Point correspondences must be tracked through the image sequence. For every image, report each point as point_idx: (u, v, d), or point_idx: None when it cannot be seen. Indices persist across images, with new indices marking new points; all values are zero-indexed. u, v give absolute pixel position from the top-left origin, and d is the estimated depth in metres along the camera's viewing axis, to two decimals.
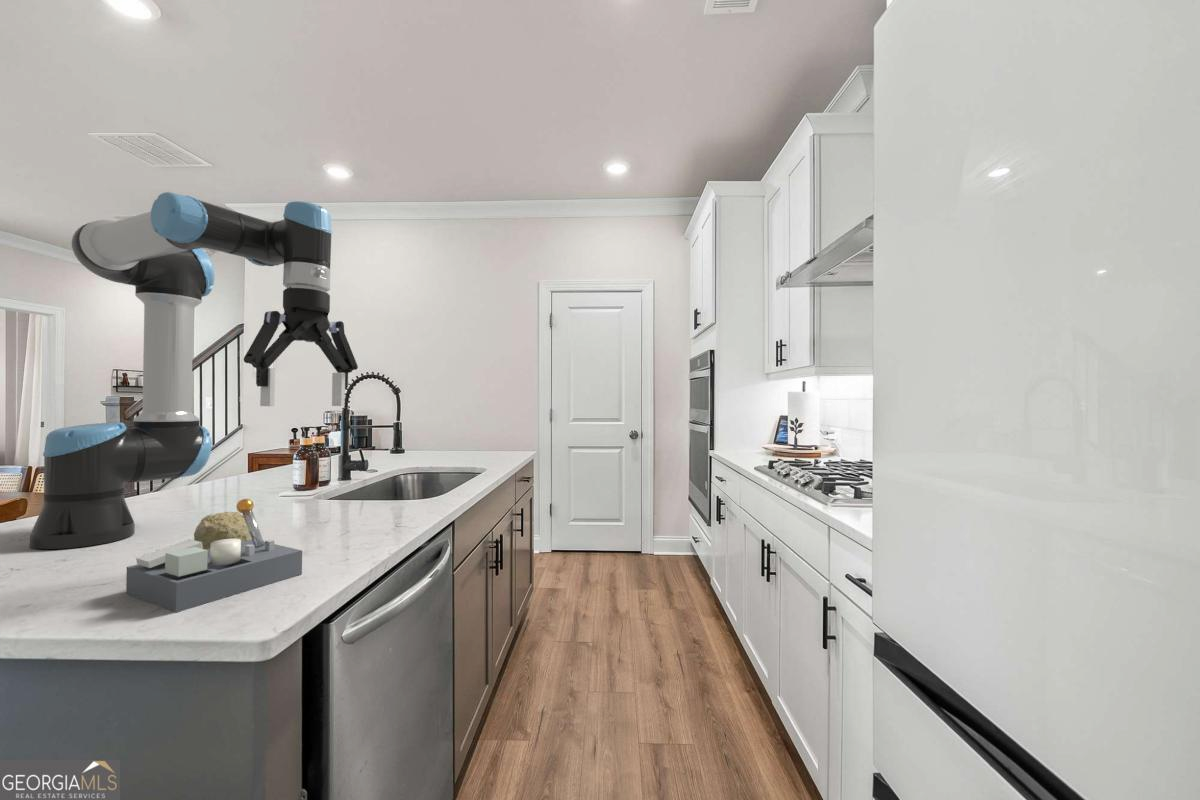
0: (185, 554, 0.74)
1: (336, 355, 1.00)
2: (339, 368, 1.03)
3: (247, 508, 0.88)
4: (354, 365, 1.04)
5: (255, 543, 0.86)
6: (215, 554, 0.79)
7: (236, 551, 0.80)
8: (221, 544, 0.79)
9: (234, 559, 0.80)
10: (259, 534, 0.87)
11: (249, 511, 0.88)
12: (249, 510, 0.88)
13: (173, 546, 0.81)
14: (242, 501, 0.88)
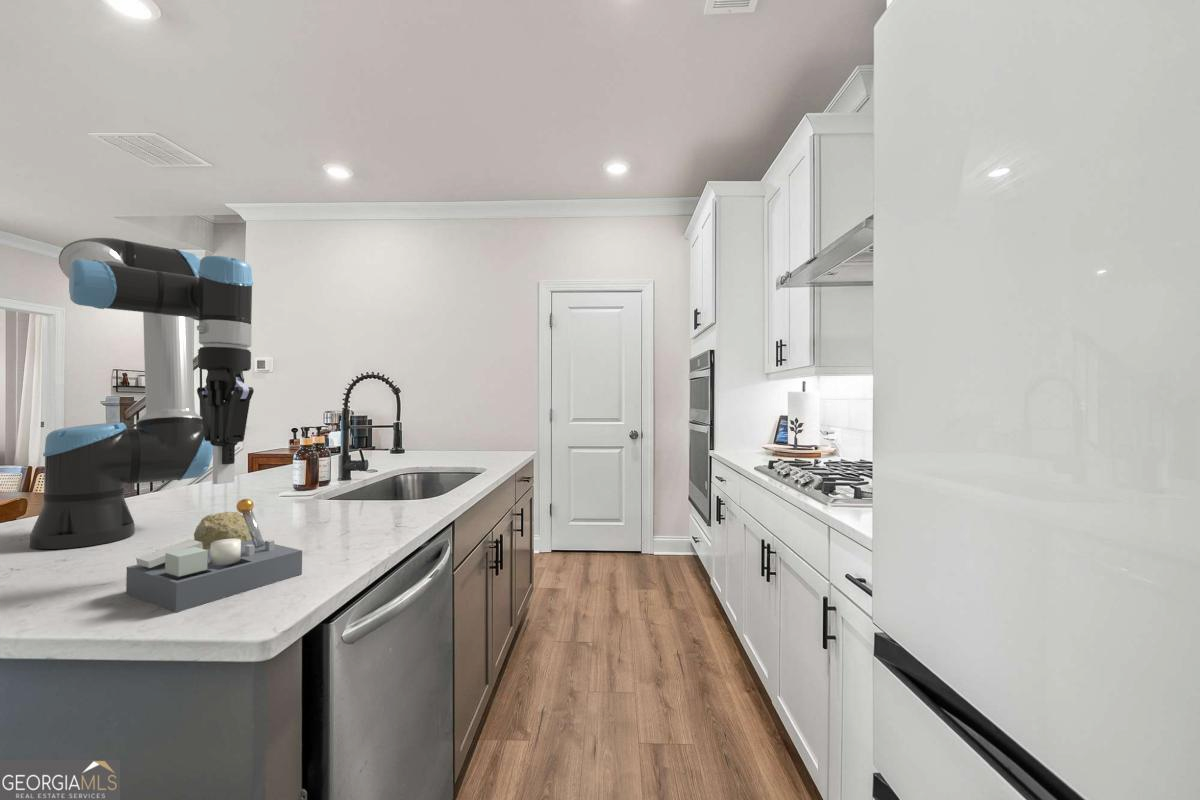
0: (185, 554, 0.74)
1: (220, 422, 0.90)
2: None
3: (247, 508, 0.88)
4: (226, 437, 0.89)
5: (255, 543, 0.86)
6: (215, 554, 0.79)
7: (236, 551, 0.80)
8: (221, 544, 0.79)
9: (234, 559, 0.80)
10: (259, 534, 0.87)
11: (249, 511, 0.88)
12: (249, 510, 0.88)
13: (173, 546, 0.81)
14: (242, 501, 0.88)
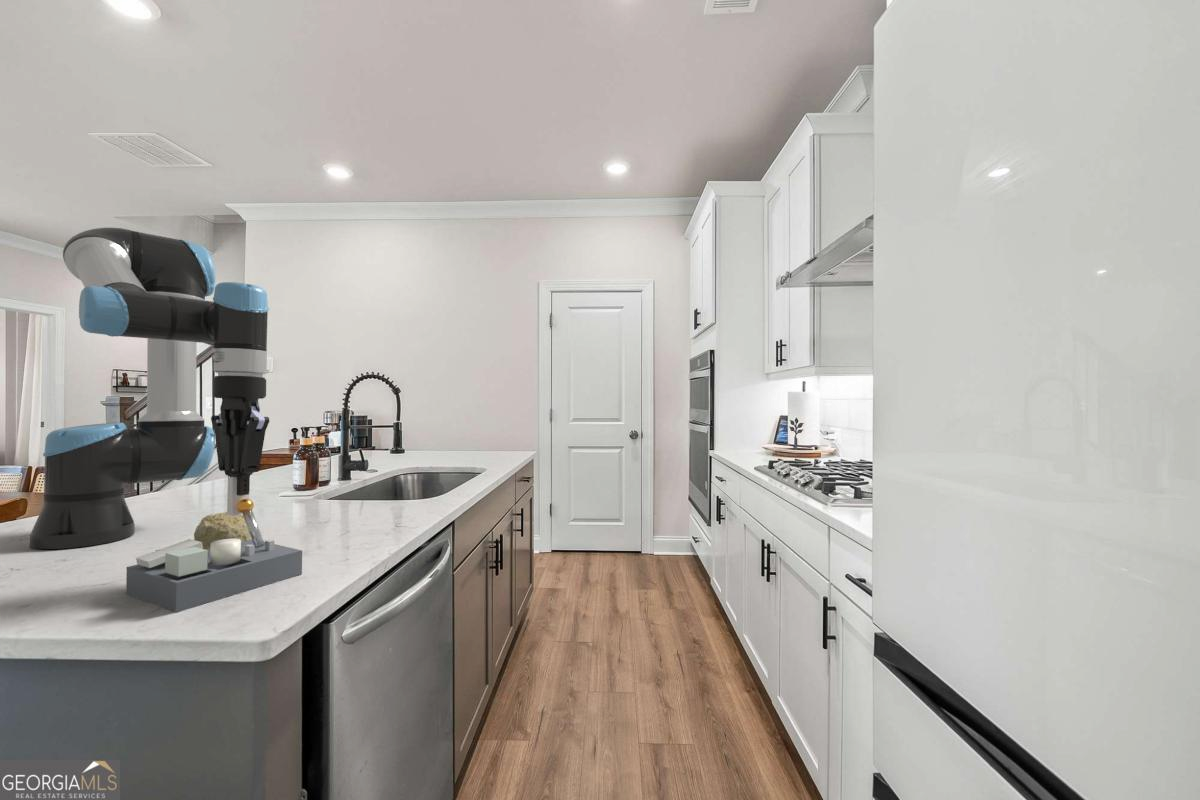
0: (185, 554, 0.74)
1: (235, 452, 0.88)
2: None
3: (247, 508, 0.88)
4: (242, 468, 0.87)
5: (255, 543, 0.86)
6: (215, 554, 0.79)
7: (236, 551, 0.80)
8: (221, 544, 0.79)
9: (234, 559, 0.80)
10: (259, 534, 0.87)
11: (249, 511, 0.88)
12: (249, 510, 0.88)
13: (173, 546, 0.81)
14: (242, 501, 0.88)
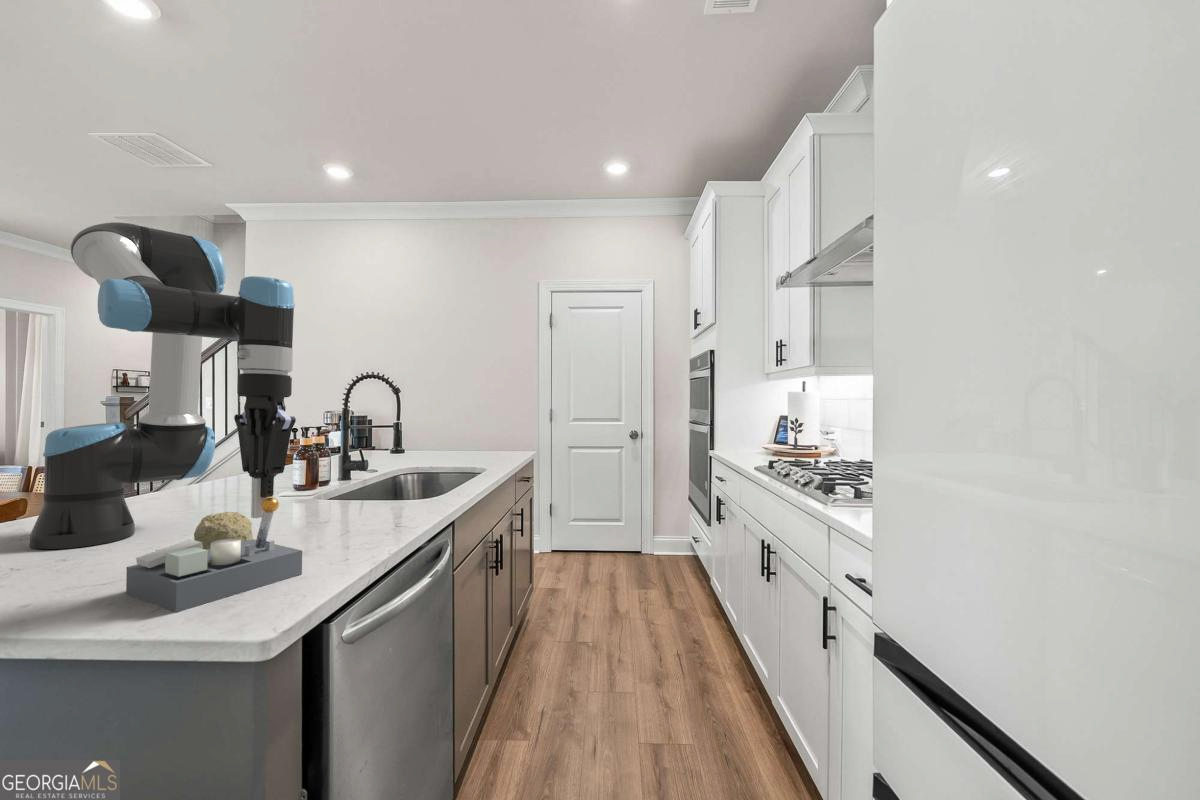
0: (185, 554, 0.74)
1: (259, 452, 0.85)
2: None
3: (269, 512, 0.85)
4: (266, 469, 0.84)
5: (257, 544, 0.86)
6: (215, 554, 0.79)
7: (236, 551, 0.80)
8: (221, 544, 0.79)
9: (234, 559, 0.80)
10: (265, 538, 0.86)
11: (270, 514, 0.85)
12: (270, 513, 0.85)
13: (173, 546, 0.81)
14: (269, 504, 0.84)
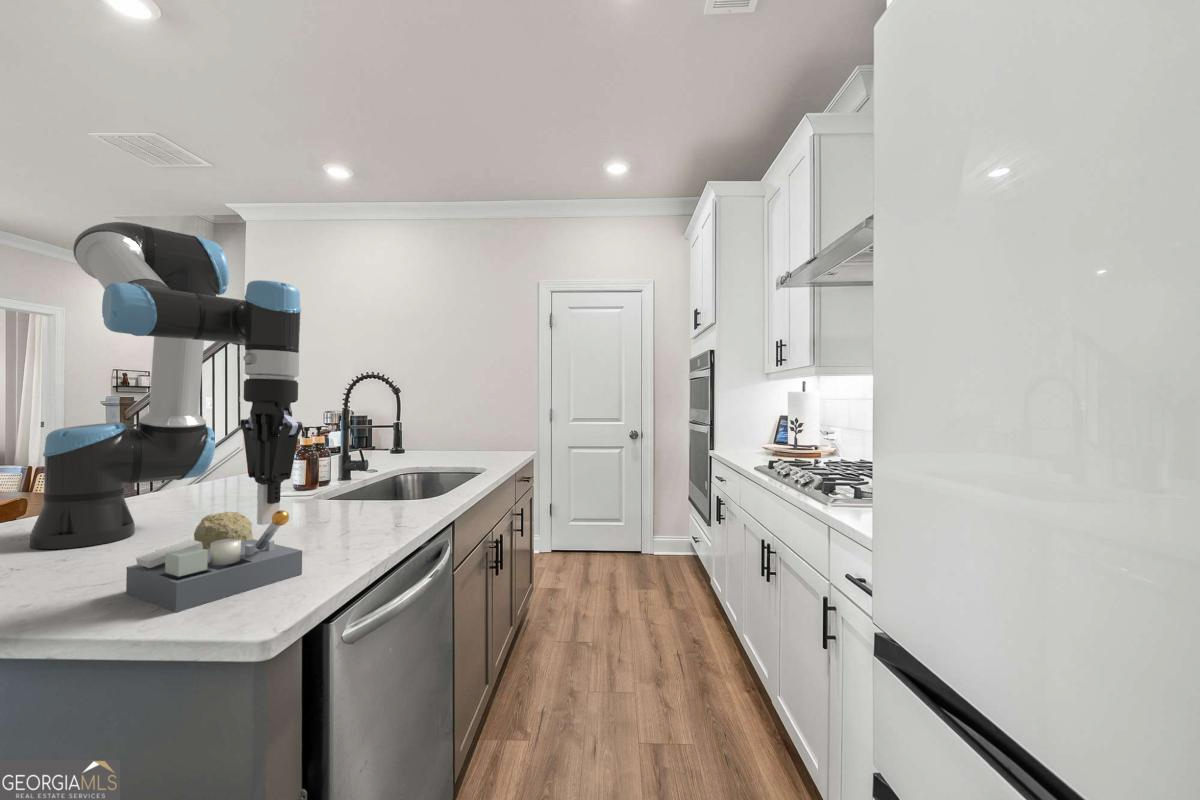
0: (185, 554, 0.74)
1: (266, 458, 0.84)
2: None
3: (278, 525, 0.84)
4: (273, 475, 0.83)
5: (257, 546, 0.86)
6: (215, 554, 0.79)
7: (236, 551, 0.80)
8: (221, 544, 0.79)
9: (234, 559, 0.80)
10: (267, 542, 0.86)
11: (277, 526, 0.84)
12: (278, 526, 0.84)
13: (173, 546, 0.81)
14: (280, 520, 0.83)
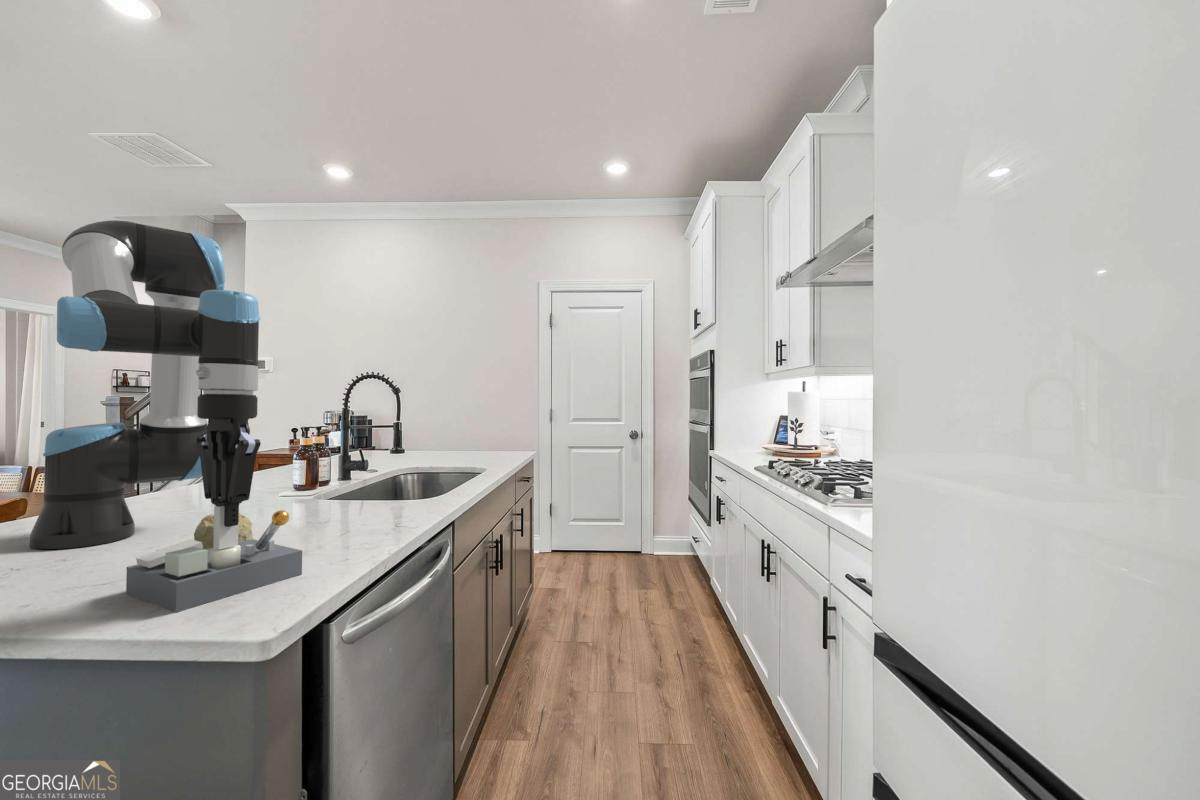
0: (185, 554, 0.74)
1: (222, 478, 0.79)
2: None
3: (278, 525, 0.84)
4: (230, 496, 0.78)
5: (257, 546, 0.86)
6: (215, 560, 0.79)
7: (236, 557, 0.80)
8: (221, 550, 0.79)
9: (234, 565, 0.80)
10: (267, 542, 0.86)
11: (278, 526, 0.84)
12: (278, 526, 0.84)
13: (173, 546, 0.81)
14: (280, 520, 0.83)
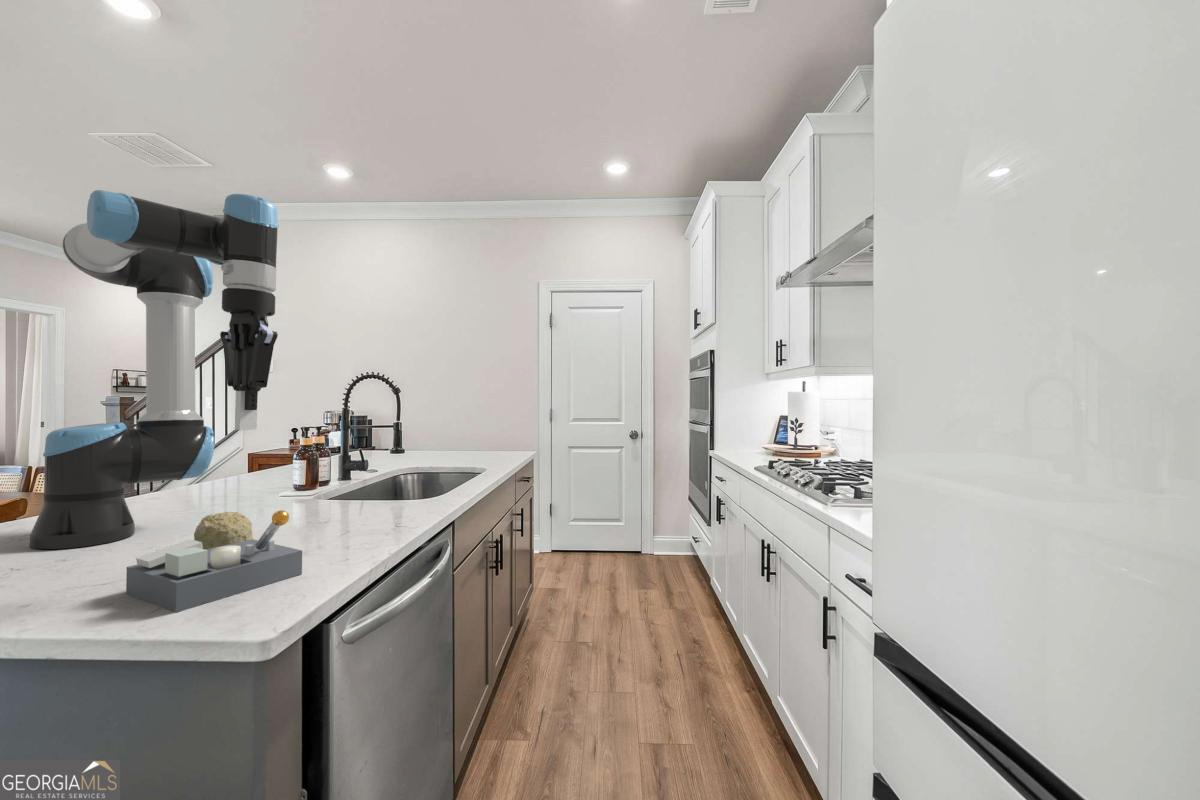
0: (185, 554, 0.74)
1: (243, 366, 0.87)
2: None
3: (278, 525, 0.84)
4: (250, 381, 0.87)
5: (257, 546, 0.86)
6: (215, 561, 0.79)
7: (236, 558, 0.80)
8: (221, 551, 0.79)
9: None
10: (267, 542, 0.86)
11: (278, 526, 0.84)
12: (278, 526, 0.84)
13: (173, 546, 0.81)
14: (280, 520, 0.83)
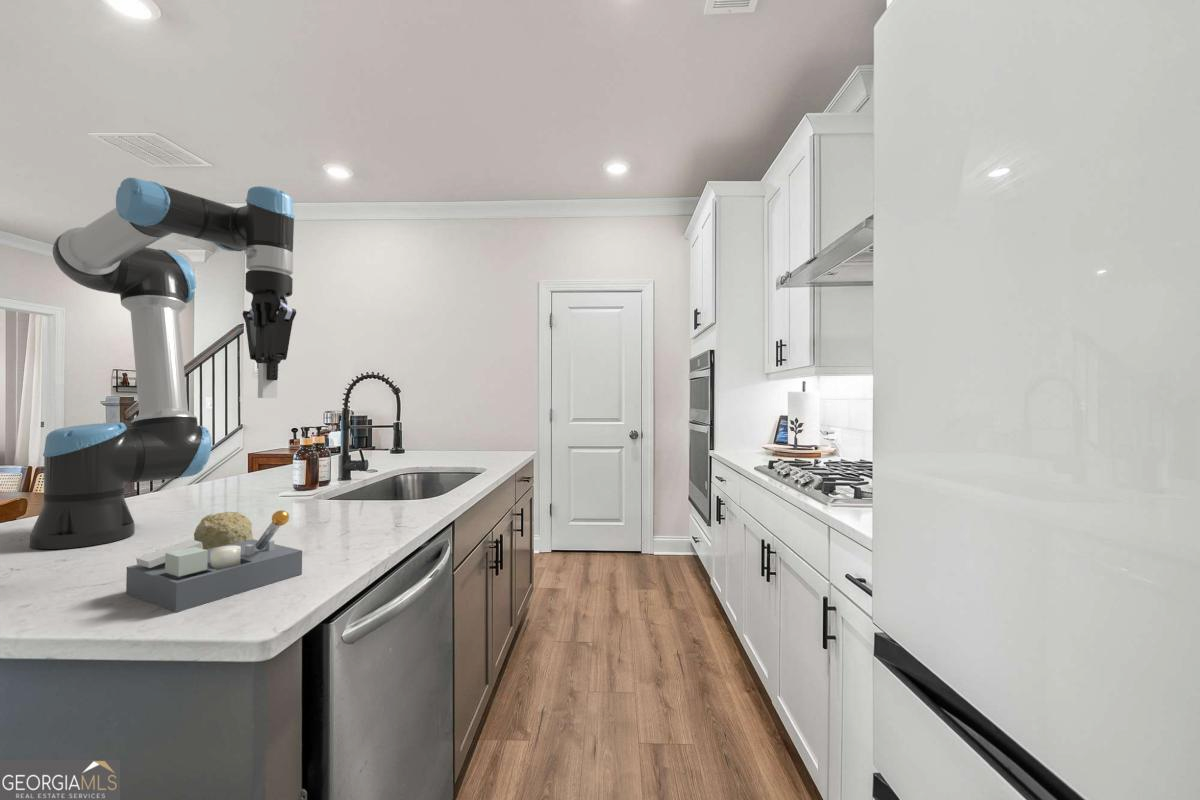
0: (185, 554, 0.74)
1: (265, 340, 0.97)
2: None
3: (278, 525, 0.84)
4: (271, 354, 0.97)
5: (257, 546, 0.86)
6: (215, 561, 0.79)
7: (236, 558, 0.80)
8: (221, 551, 0.79)
9: None
10: (267, 542, 0.86)
11: (278, 526, 0.84)
12: (278, 526, 0.84)
13: (173, 546, 0.81)
14: (280, 520, 0.83)
